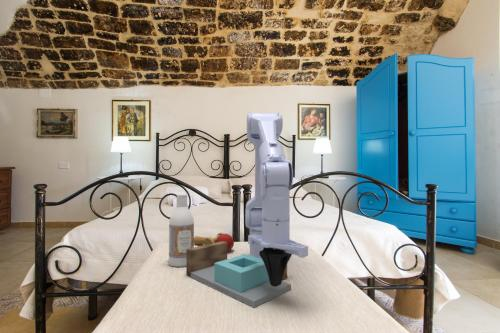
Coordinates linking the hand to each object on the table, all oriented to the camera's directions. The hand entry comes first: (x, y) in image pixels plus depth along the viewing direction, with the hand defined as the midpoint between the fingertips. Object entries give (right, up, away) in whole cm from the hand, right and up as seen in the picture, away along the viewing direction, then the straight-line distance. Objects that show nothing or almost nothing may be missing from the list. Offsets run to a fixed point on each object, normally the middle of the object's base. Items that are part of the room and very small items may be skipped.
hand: (275, 284), depth 57 cm
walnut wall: (-17, -3, +17) cm, 24 cm away
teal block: (-7, -2, +7) cm, 10 cm away
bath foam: (-25, -4, +22) cm, 34 cm away
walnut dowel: (+2, -3, +12) cm, 12 cm away
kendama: (-18, -4, +38) cm, 43 cm away
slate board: (-9, -3, +9) cm, 13 cm away
